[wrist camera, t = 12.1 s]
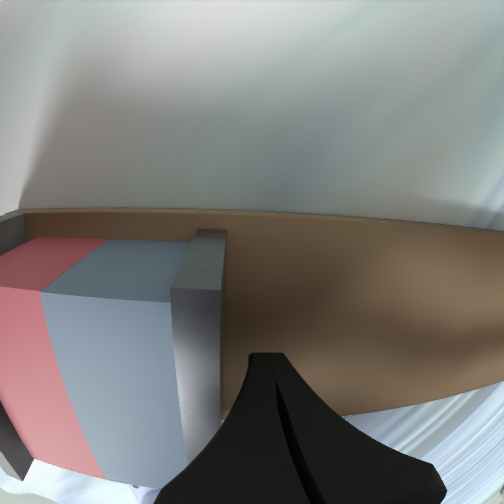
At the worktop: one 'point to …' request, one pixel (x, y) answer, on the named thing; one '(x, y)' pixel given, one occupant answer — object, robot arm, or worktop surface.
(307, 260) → the book shelf
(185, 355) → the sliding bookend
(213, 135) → the worktop surface
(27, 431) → the red rectangular block
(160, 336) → the slate book
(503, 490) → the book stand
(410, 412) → the worktop surface
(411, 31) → the worktop surface
